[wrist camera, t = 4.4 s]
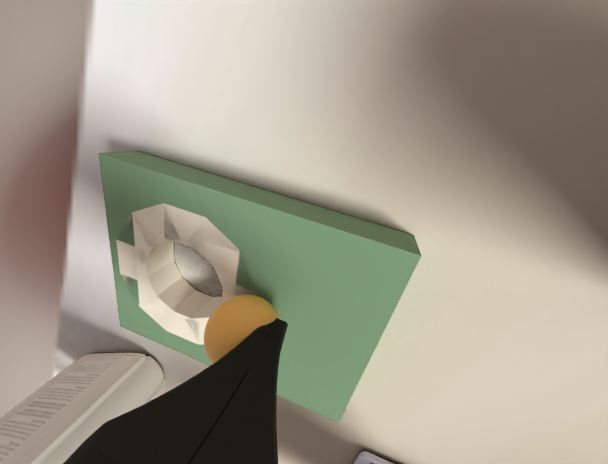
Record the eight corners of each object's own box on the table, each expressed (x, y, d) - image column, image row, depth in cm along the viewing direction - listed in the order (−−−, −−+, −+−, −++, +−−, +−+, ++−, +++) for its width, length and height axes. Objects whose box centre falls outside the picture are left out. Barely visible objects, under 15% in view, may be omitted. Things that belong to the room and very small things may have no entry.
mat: (413, 235, 12) (421, 255, 10) (342, 388, 17) (338, 422, 15) (136, 150, 14) (98, 153, 12) (146, 306, 19) (120, 326, 17)
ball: (276, 351, 9) (191, 314, 10) (255, 408, 11) (181, 374, 11) (299, 296, 13) (235, 270, 13) (280, 345, 14) (223, 320, 14)
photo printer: (102, 382, 26) (-101, 567, 15) (80, 350, 25) (-159, 525, 14) (174, 383, 22) (-23, 628, 11) (151, 346, 21) (-93, 579, 10)
